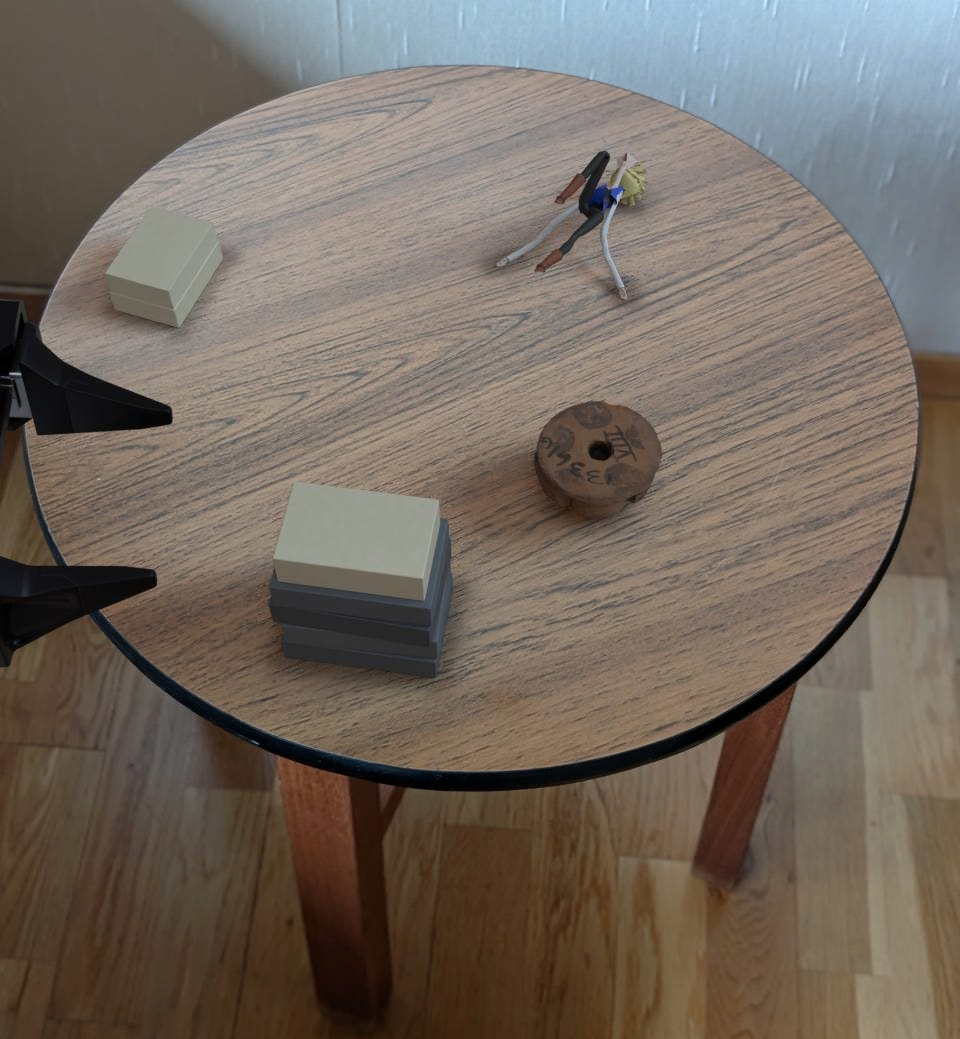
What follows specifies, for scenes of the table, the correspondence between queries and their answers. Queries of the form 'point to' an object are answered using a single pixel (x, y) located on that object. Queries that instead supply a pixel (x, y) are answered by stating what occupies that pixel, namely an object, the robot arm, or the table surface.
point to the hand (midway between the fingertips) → (164, 493)
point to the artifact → (597, 458)
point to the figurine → (592, 208)
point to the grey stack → (368, 621)
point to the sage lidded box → (164, 266)
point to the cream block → (357, 540)
